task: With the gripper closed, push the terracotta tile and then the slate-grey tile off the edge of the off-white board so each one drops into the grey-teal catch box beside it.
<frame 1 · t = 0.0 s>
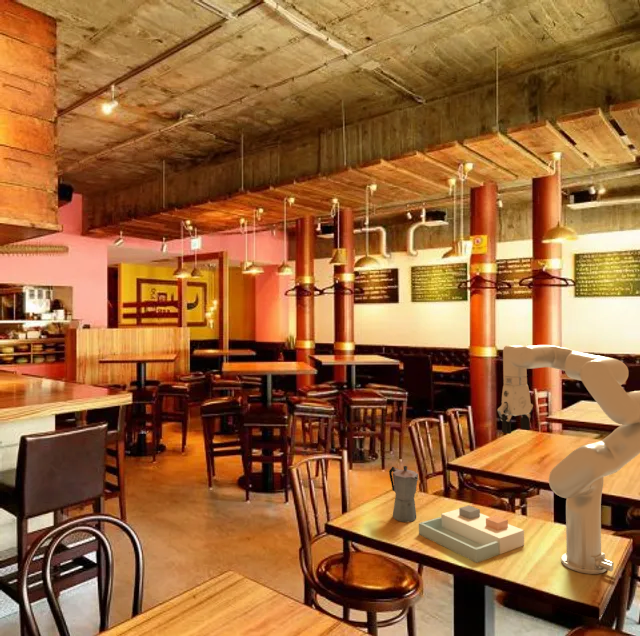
hand: (515, 431, 182), 37 cm above the table, tool pointing down, fingers open, 9 cm apart
catch box: (457, 543, 178), on the table
slate tile: (469, 515, 189), point 5 cm above the table, touching board
moka pot: (403, 518, 202), on the table
board: (481, 536, 184), on the table
terracotta tile: (496, 526, 179), point 5 cm above the table, touching board
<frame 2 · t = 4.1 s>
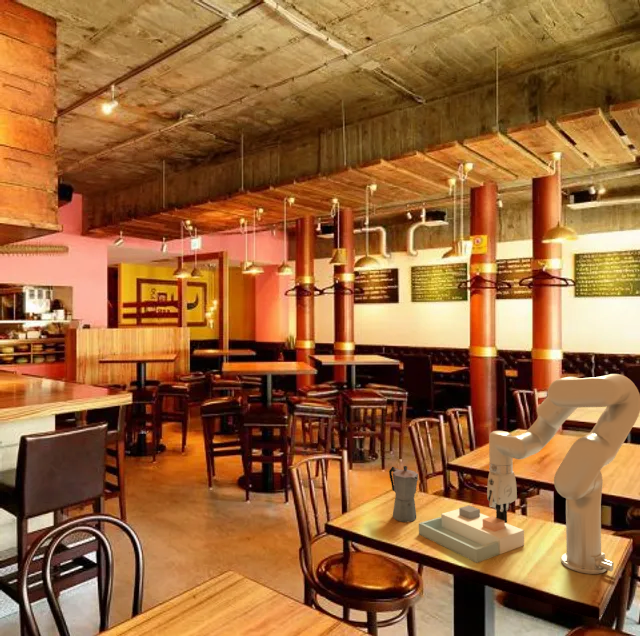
hand: (501, 521, 181), 6 cm above the table, tool pointing down, fingers closed
terracotta tile: (493, 527, 179), point 5 cm above the table, touching gripper
everything else where it was.
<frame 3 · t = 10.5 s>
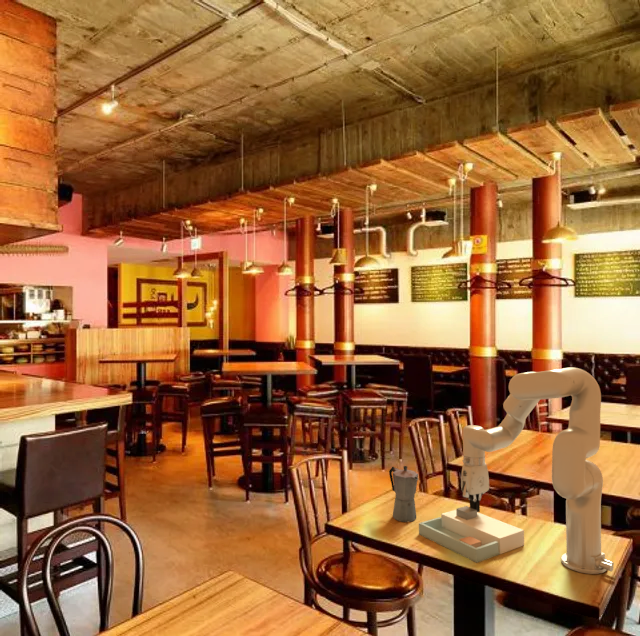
hand: (474, 511, 191), 6 cm above the table, tool pointing down, fingers closed
slate tile: (466, 516, 189), point 5 cm above the table, touching board, gripper
terracotta tile: (470, 540, 173), point 3 cm above the table, tilted 180°, touching catch box
everything else where it was.
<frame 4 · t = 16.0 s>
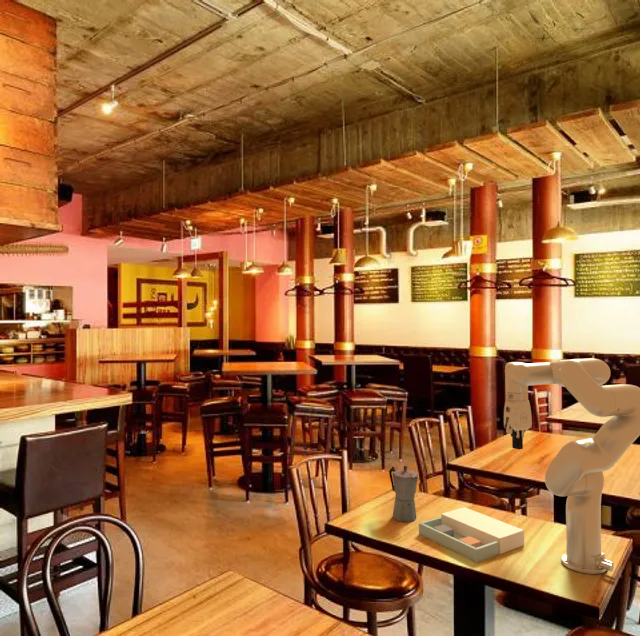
hand: (517, 448, 188), 29 cm above the table, tool pointing down, fingers closed
slate tile: (443, 528, 184), point 3 cm above the table, tilted 180°, touching catch box
everything else where it was.
at the end: terracotta tile inside the target area (5.4 cm from its centre), point 3.0 cm above the table; slate tile inside the target area (6.8 cm from its centre), point 3.0 cm above the table; moka pot moved 0.2 cm from its start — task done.
